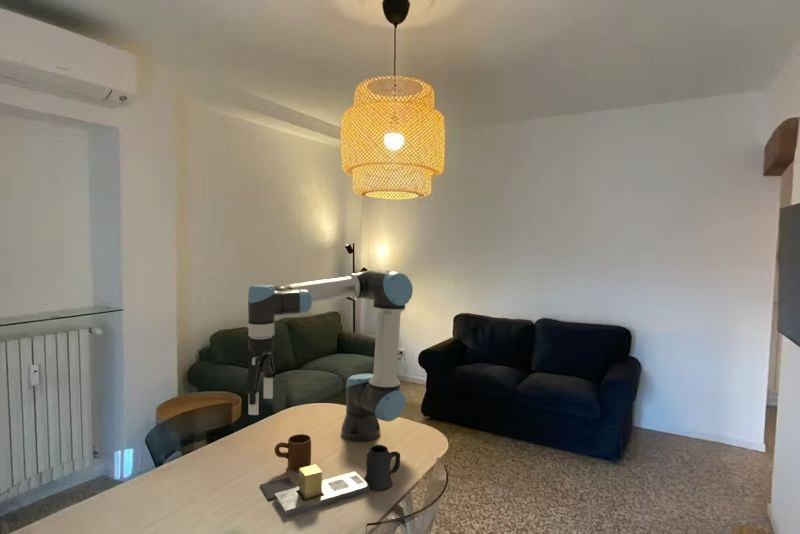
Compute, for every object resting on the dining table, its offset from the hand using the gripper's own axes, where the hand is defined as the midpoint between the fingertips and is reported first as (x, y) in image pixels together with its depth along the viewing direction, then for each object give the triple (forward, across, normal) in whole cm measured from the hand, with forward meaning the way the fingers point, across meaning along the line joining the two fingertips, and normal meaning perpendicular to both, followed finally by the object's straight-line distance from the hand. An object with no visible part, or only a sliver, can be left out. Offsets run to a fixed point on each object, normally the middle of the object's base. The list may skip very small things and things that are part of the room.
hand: (261, 406), depth 141 cm
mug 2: (+26, -5, +37) cm, 45 cm away
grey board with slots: (+25, +4, +20) cm, 32 cm away
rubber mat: (+25, +1, +6) cm, 26 cm away
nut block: (+25, +6, +16) cm, 31 cm away
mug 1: (+26, -13, +6) cm, 29 cm away
